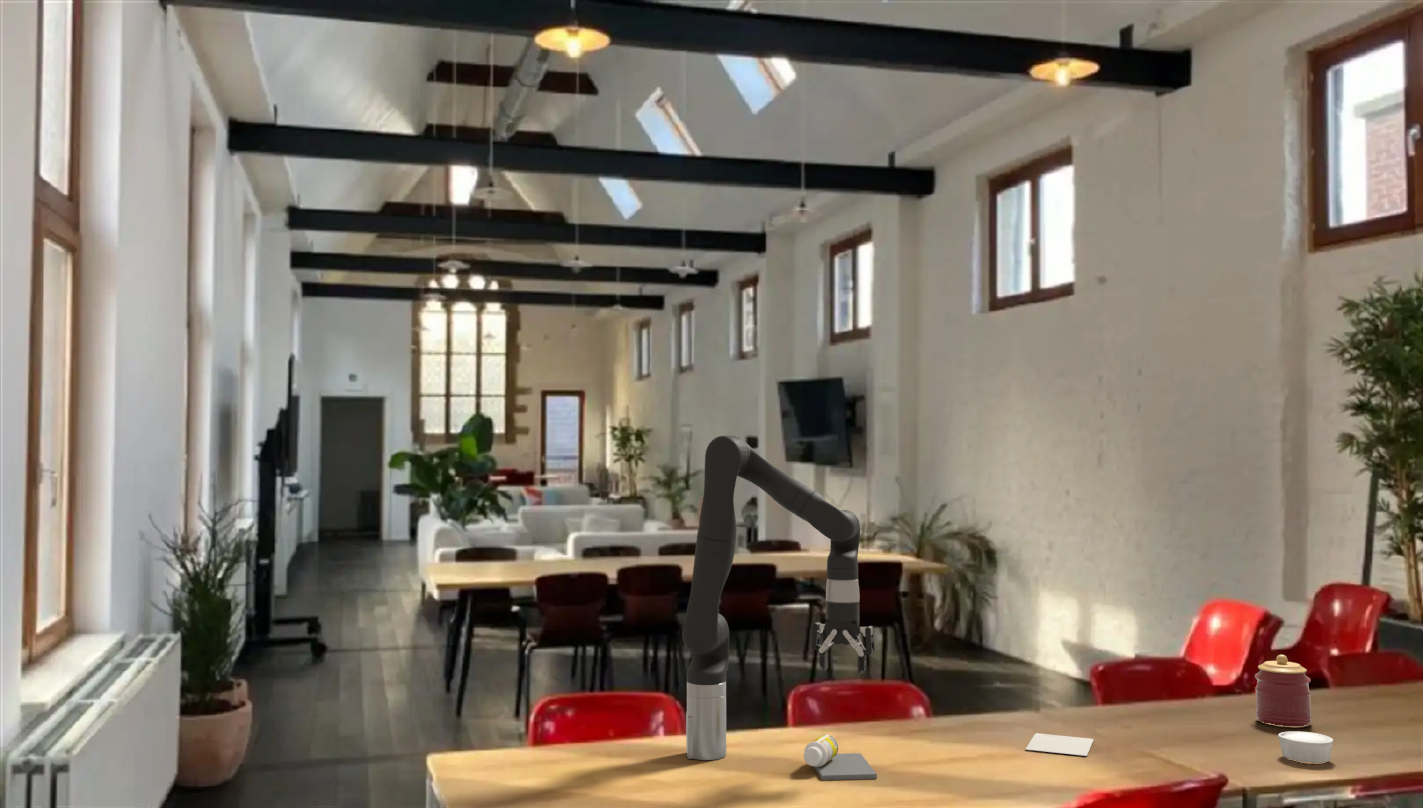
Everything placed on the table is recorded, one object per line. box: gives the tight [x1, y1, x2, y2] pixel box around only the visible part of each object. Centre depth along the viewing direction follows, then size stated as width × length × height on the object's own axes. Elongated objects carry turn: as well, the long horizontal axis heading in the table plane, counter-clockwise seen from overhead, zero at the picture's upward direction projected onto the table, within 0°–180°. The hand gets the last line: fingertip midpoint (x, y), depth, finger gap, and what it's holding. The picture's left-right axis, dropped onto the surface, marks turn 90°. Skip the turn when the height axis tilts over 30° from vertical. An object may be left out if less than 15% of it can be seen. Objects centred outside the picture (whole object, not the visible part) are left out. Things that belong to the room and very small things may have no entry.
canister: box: [1254, 654, 1313, 726], centre depth 290 cm, size 13×13×18 cm
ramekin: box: [1277, 730, 1334, 763], centre depth 255 cm, size 11×11×5 cm
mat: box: [814, 752, 878, 781], centre depth 249 cm, size 12×17×1 cm
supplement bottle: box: [803, 734, 839, 768], centre depth 250 cm, size 6×6×10 cm
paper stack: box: [1025, 732, 1095, 757], centre depth 262 cm, size 23×25×1 cm
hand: (842, 671), depth 251 cm, fingers open, 8 cm apart
